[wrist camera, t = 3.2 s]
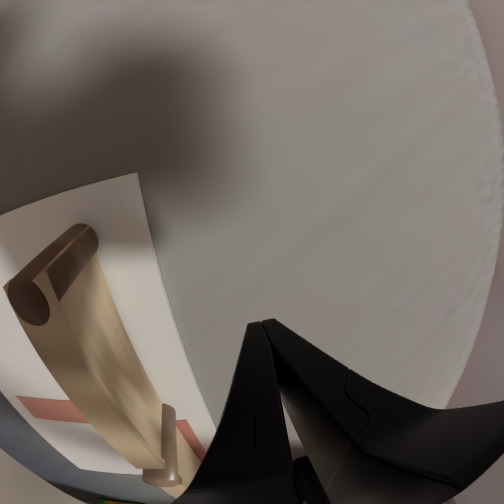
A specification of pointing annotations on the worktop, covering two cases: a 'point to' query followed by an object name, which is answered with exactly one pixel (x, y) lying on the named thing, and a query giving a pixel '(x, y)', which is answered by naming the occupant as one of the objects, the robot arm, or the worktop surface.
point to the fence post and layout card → (133, 318)
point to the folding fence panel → (88, 344)
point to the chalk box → (112, 502)
